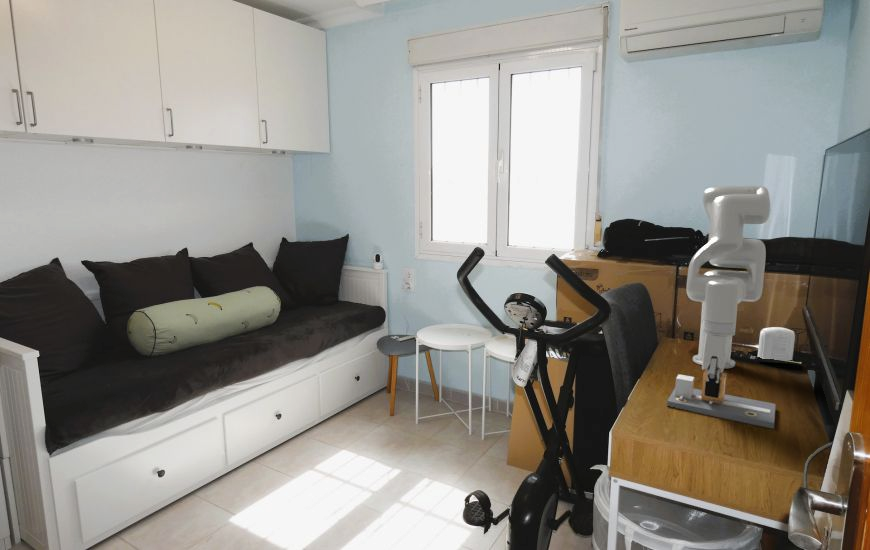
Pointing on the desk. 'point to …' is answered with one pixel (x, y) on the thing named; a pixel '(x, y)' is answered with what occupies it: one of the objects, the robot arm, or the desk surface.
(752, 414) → the slide rail plate
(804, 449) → the desk surface
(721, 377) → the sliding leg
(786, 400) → the desk surface
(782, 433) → the desk surface
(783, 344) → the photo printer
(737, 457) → the desk surface
